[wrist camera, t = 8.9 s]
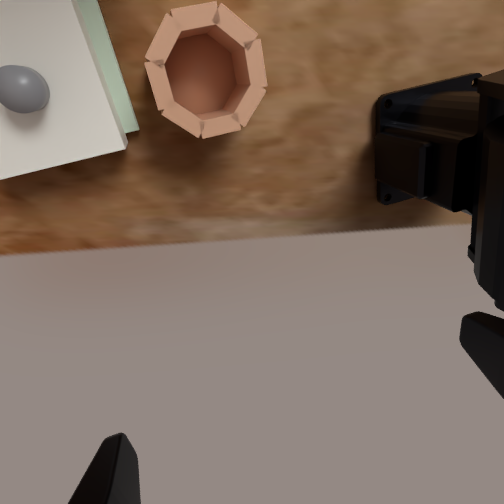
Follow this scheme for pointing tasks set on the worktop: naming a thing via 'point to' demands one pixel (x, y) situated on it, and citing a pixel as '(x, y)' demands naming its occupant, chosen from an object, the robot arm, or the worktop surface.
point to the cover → (51, 89)
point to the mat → (108, 63)
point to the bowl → (206, 69)
